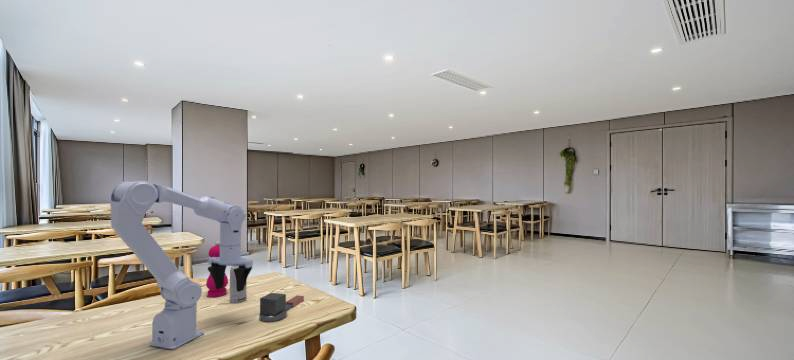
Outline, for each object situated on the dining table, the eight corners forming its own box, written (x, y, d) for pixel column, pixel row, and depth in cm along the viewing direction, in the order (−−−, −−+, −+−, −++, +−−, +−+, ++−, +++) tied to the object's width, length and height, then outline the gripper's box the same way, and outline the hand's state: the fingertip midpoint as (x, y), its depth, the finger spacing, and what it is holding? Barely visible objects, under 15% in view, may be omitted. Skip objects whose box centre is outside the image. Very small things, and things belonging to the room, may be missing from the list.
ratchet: (276, 323, 97) (276, 308, 97) (253, 320, 99) (253, 305, 99) (310, 301, 116) (310, 288, 116) (290, 299, 118) (290, 286, 118)
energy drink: (249, 298, 119) (249, 265, 119) (240, 303, 113) (241, 268, 113) (235, 297, 119) (235, 264, 119) (226, 302, 114) (226, 268, 114)
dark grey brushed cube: (275, 316, 99) (275, 300, 99) (259, 314, 100) (260, 298, 100) (285, 310, 104) (285, 294, 104) (271, 308, 105) (271, 292, 105)
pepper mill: (208, 292, 125) (209, 240, 125) (229, 290, 127) (230, 239, 127) (203, 298, 118) (204, 243, 118) (225, 296, 120) (226, 242, 120)
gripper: (259, 243, 101) (259, 287, 101) (221, 241, 105) (220, 283, 105) (243, 247, 95) (242, 294, 94) (202, 245, 98) (202, 290, 98)
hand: (229, 289), depth 99 cm, fingers open, 7 cm apart
